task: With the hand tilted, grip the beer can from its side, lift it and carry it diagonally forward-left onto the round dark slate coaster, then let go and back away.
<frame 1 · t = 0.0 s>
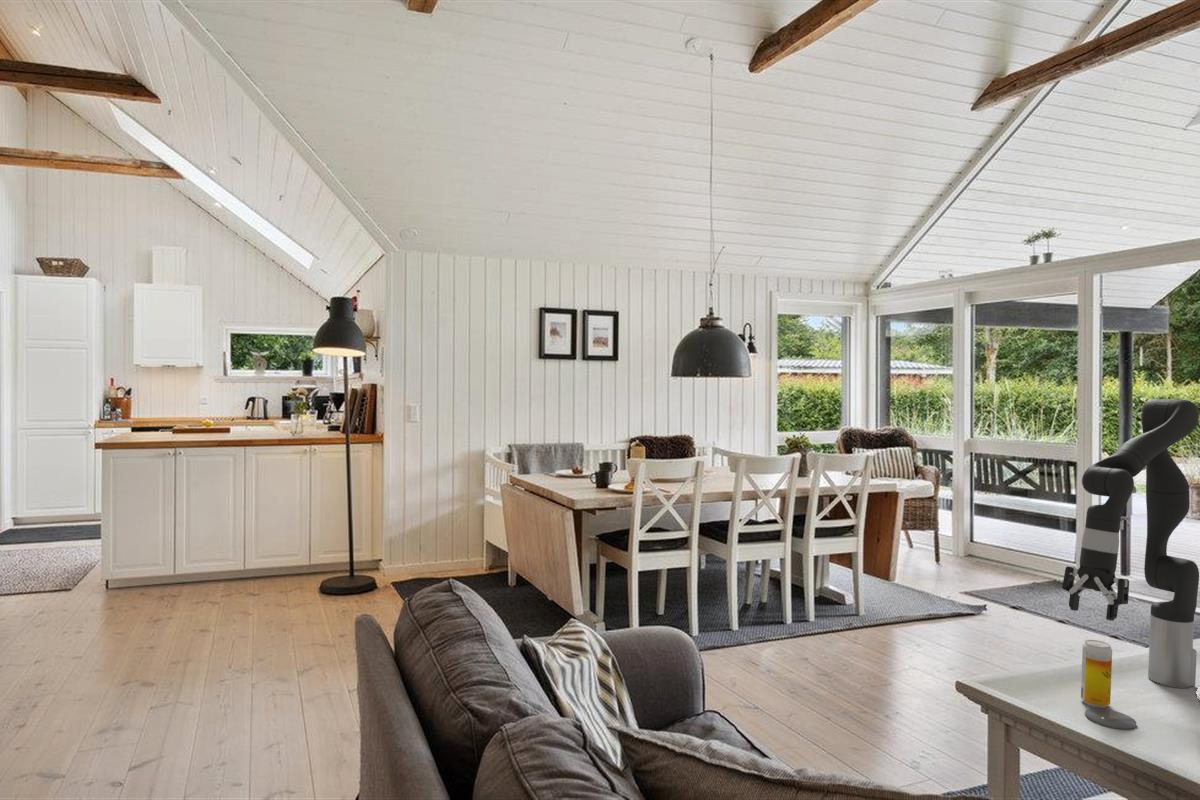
hand: (1091, 615, 185), 22 cm above the table, tool pointing down, fingers open, 8 cm apart
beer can: (1095, 704, 187), on the table
slate coaster: (1110, 719, 178), on the table
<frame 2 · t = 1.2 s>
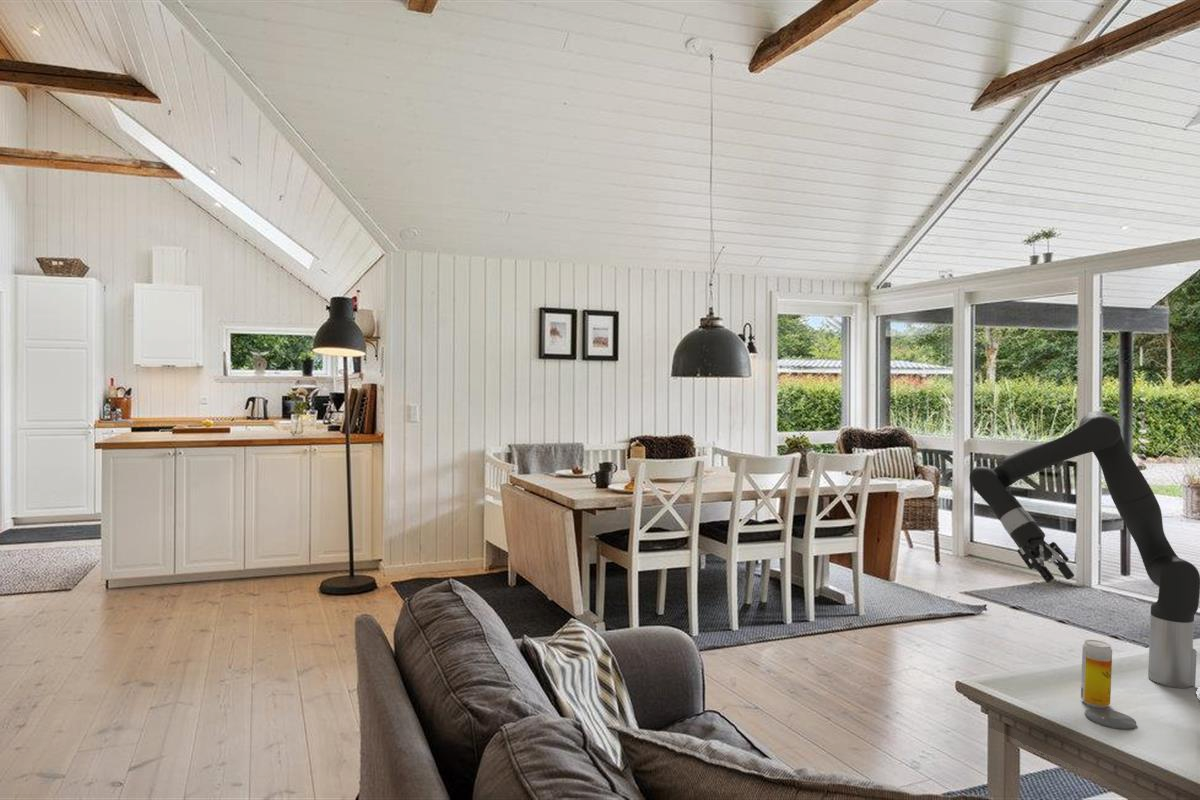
hand: (1061, 579, 200), 27 cm above the table, tool tilted 45°, fingers open, 8 cm apart
nothing on the table moved.
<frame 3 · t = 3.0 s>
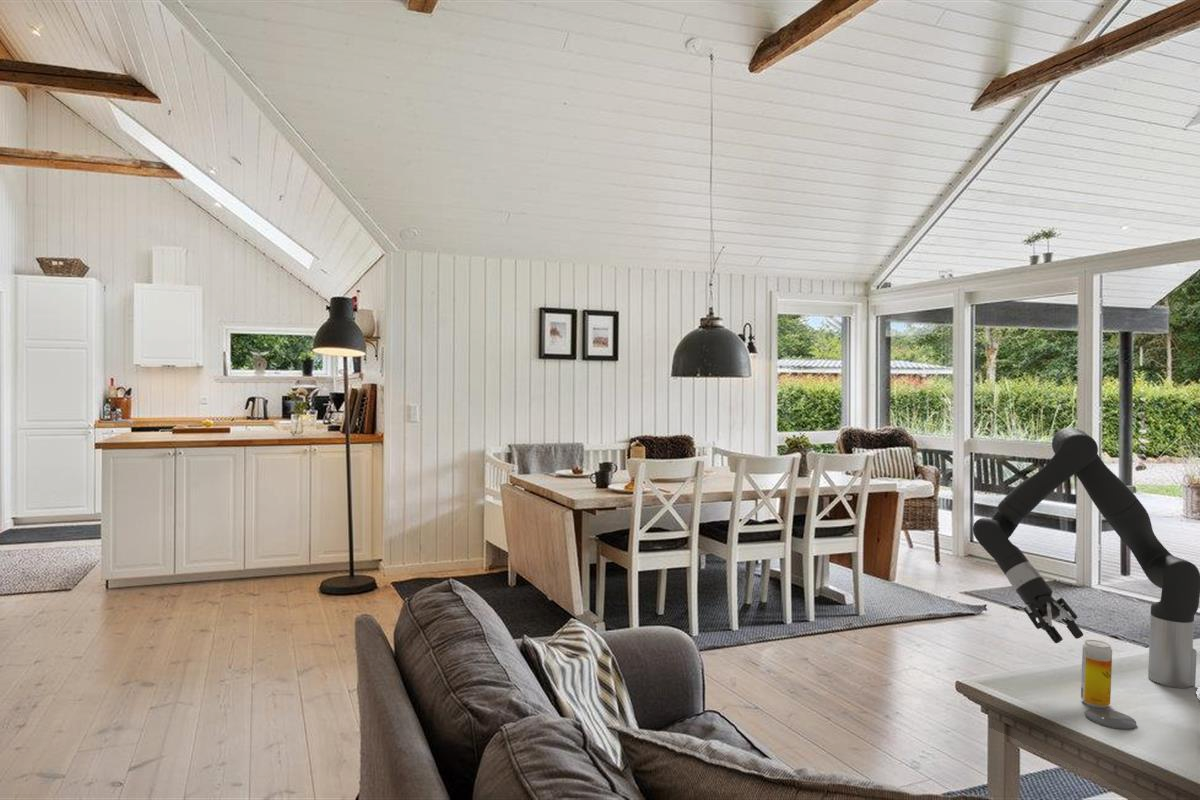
hand: (1069, 639, 192), 14 cm above the table, tool tilted 45°, fingers open, 8 cm apart
nothing on the table moved.
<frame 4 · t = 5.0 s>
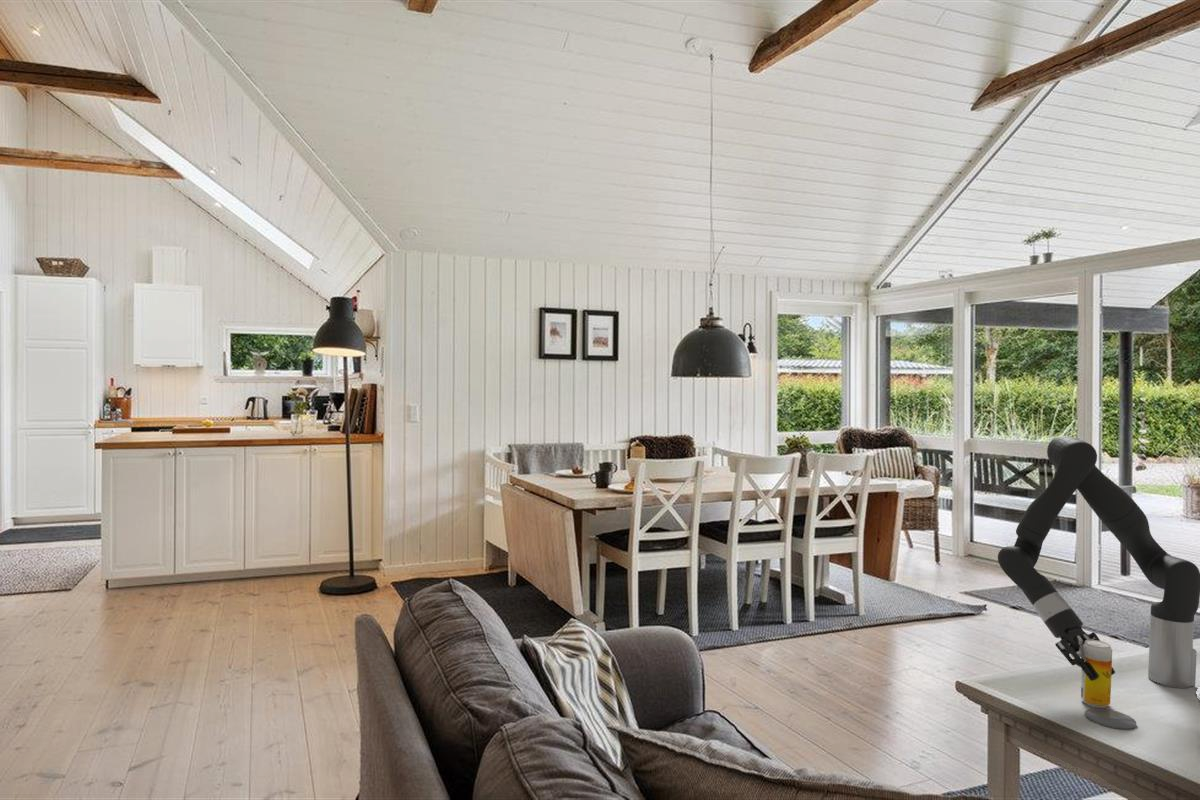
hand: (1103, 676, 185), 7 cm above the table, tool tilted 45°, fingers closed on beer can, 6 cm apart
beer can: (1095, 704, 187), on the table, touching gripper
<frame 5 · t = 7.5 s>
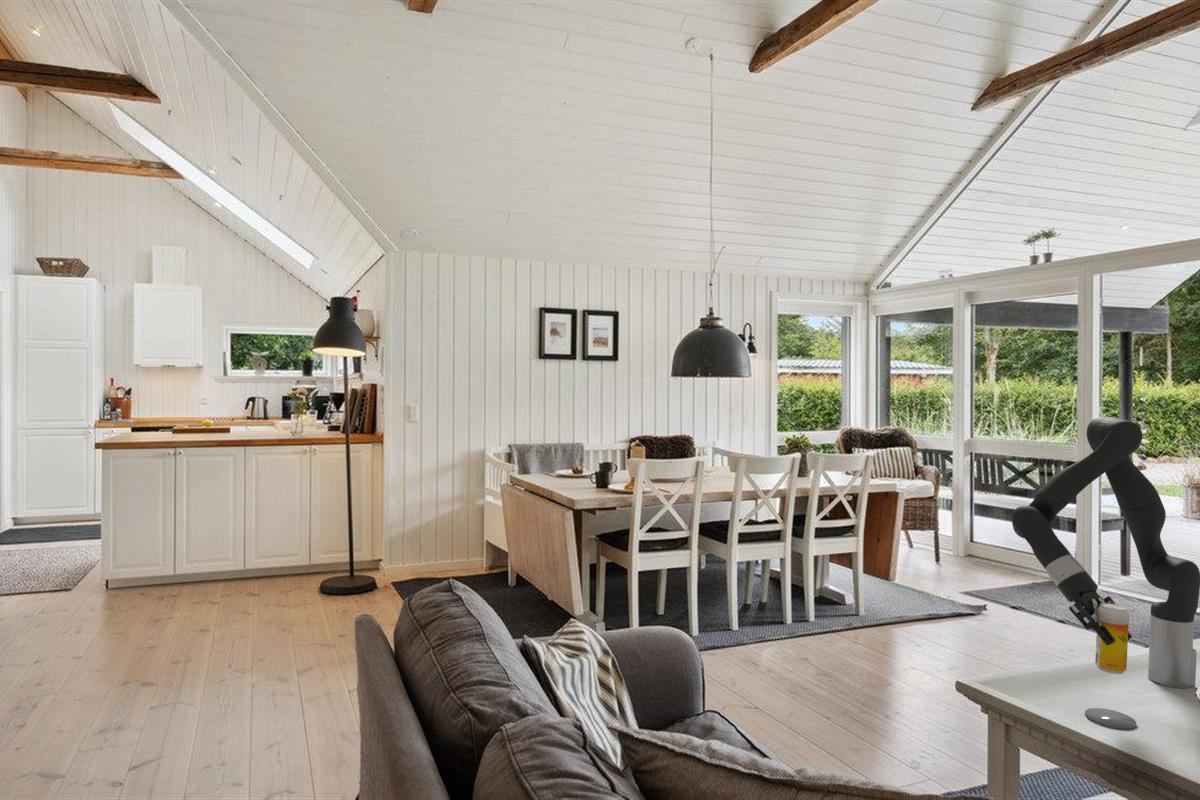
hand: (1119, 641, 176), 19 cm above the table, tool tilted 45°, fingers closed on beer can, 6 cm apart
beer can: (1110, 670, 178), point 12 cm above the table, touching gripper
when the fingers open (9 cm above the table, at t = 9.8 s): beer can drops 1 cm, resting on slate coaster.
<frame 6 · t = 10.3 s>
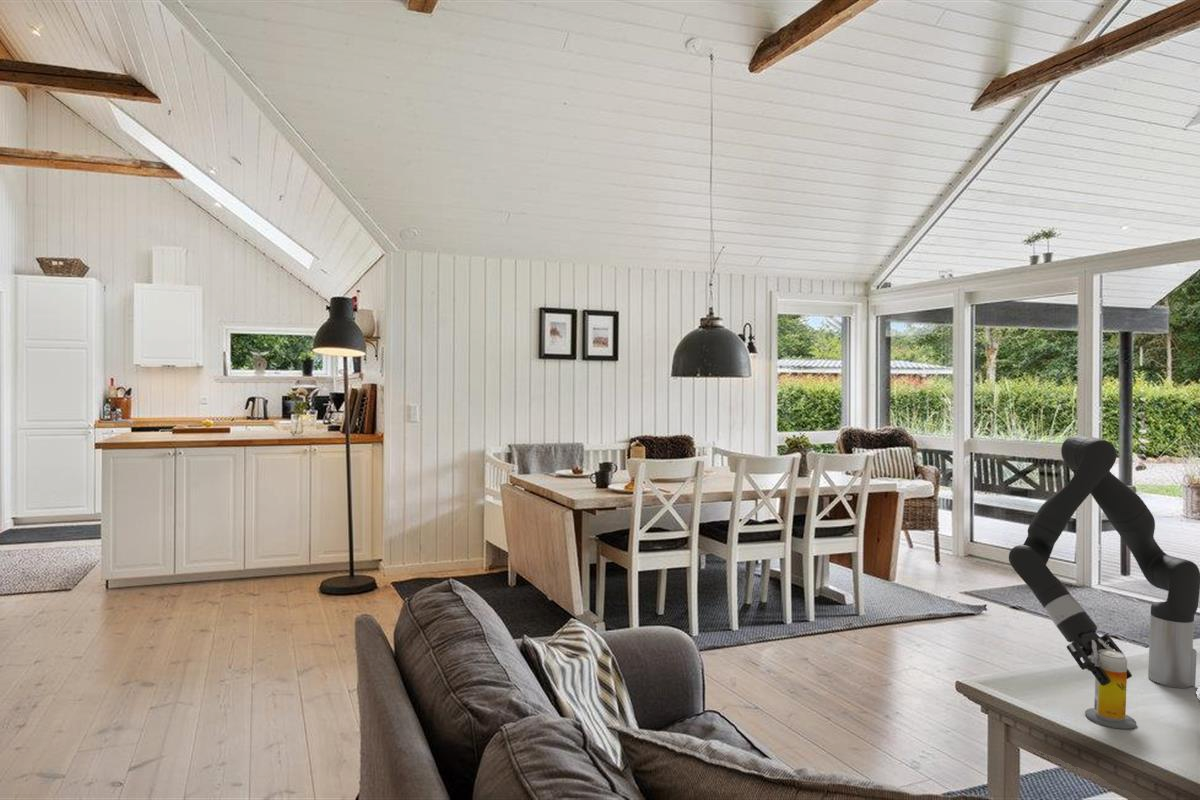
hand: (1117, 681, 176), 10 cm above the table, tool tilted 45°, fingers open, 8 cm apart
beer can: (1109, 717, 178), resting on slate coaster
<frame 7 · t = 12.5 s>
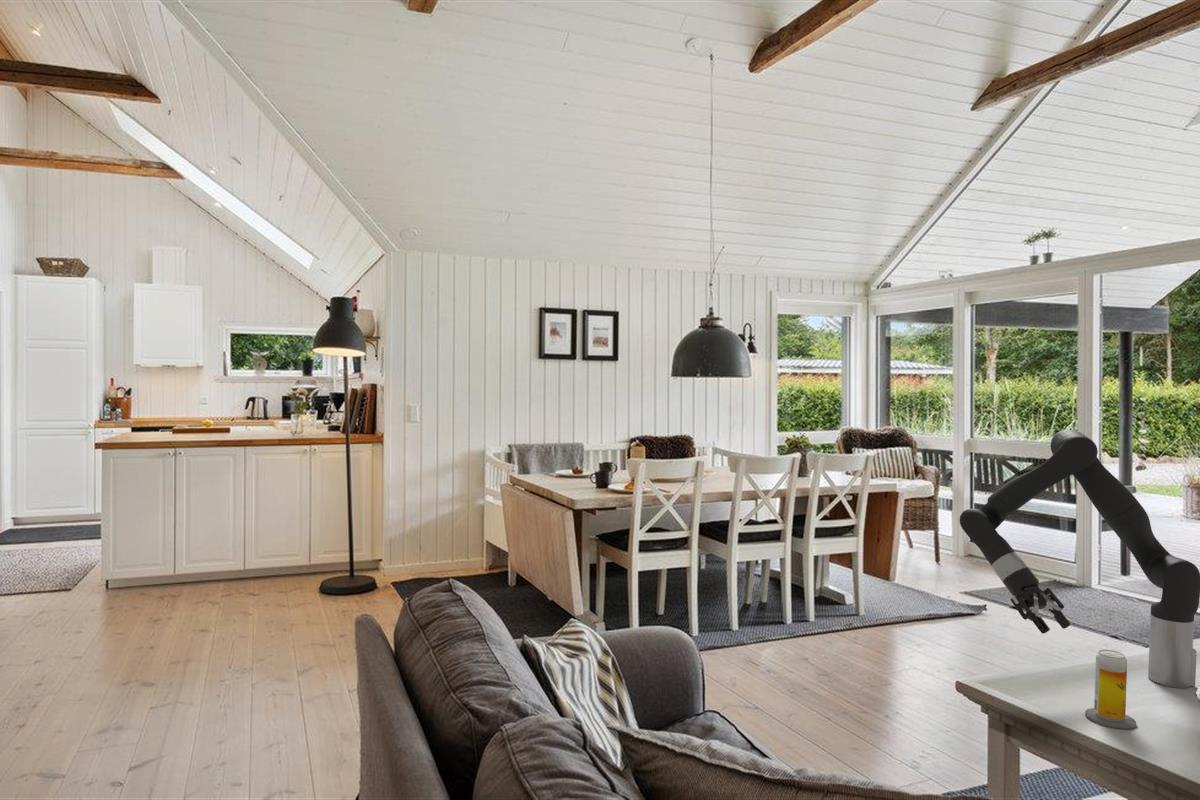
hand: (1057, 629, 192), 17 cm above the table, tool tilted 45°, fingers open, 8 cm apart
nothing on the table moved.
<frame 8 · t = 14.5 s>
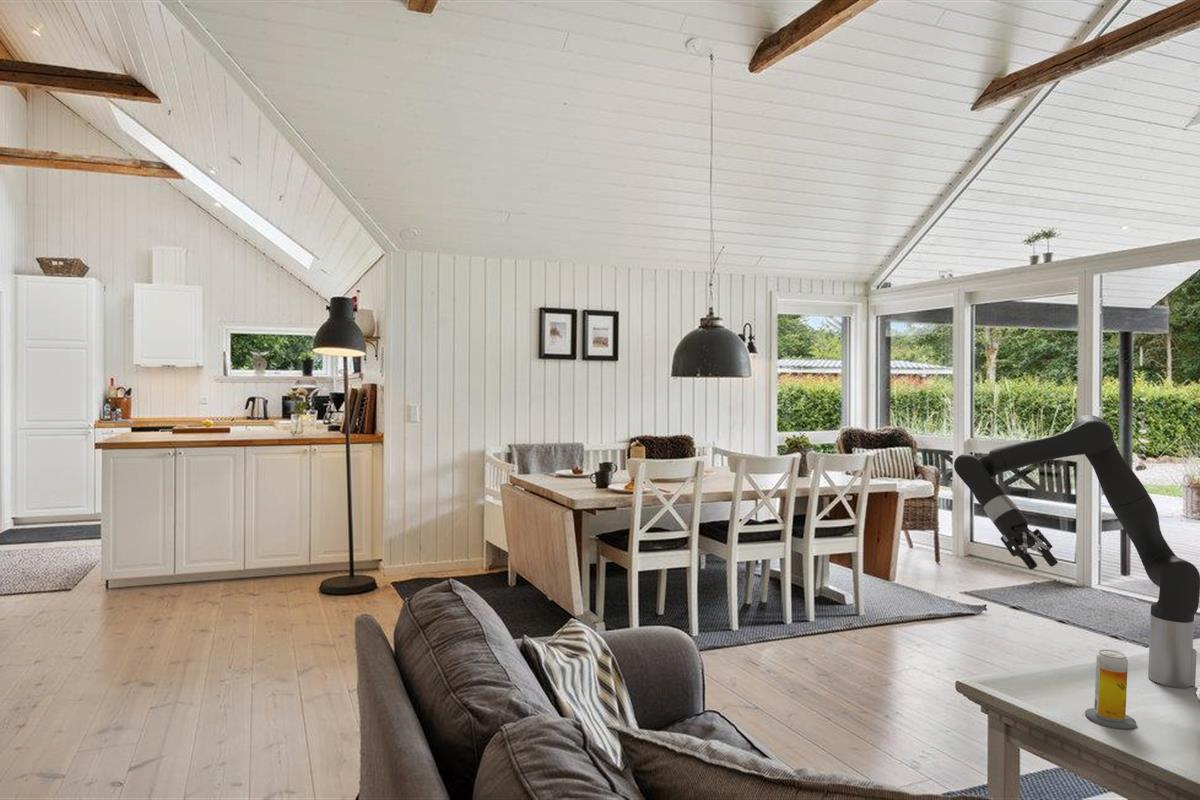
hand: (1044, 566, 199), 31 cm above the table, tool tilted 45°, fingers open, 8 cm apart
nothing on the table moved.
at the end: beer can 0.2 cm from the slate coaster (horizontally); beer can tilted 0°; the gripper is holding nothing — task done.
